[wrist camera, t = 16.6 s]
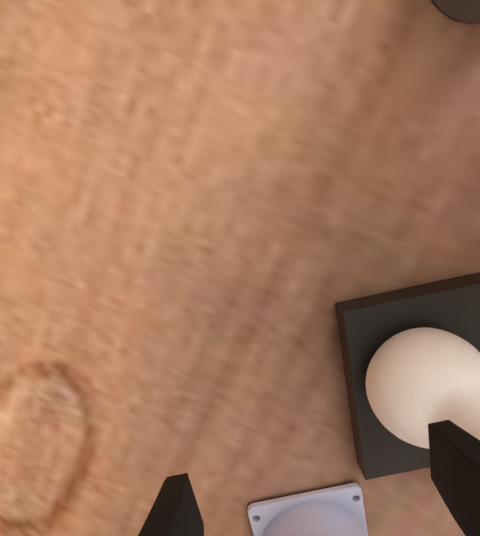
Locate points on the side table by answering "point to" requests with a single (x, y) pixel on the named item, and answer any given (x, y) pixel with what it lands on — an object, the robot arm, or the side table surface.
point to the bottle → (461, 9)
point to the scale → (383, 328)
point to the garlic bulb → (425, 383)
